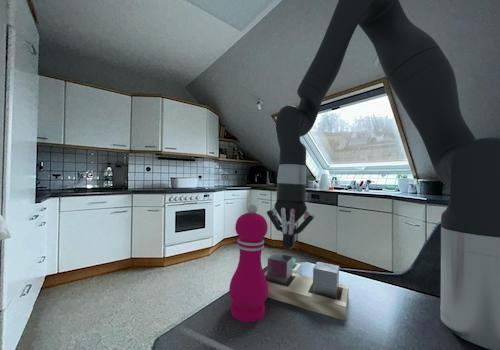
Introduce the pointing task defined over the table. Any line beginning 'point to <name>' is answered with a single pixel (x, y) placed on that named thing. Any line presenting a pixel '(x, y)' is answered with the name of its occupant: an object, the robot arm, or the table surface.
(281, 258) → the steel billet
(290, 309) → the table surface
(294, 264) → the button
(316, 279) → the block
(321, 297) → the wooden tray
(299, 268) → the button housing
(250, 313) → the pepper mill
